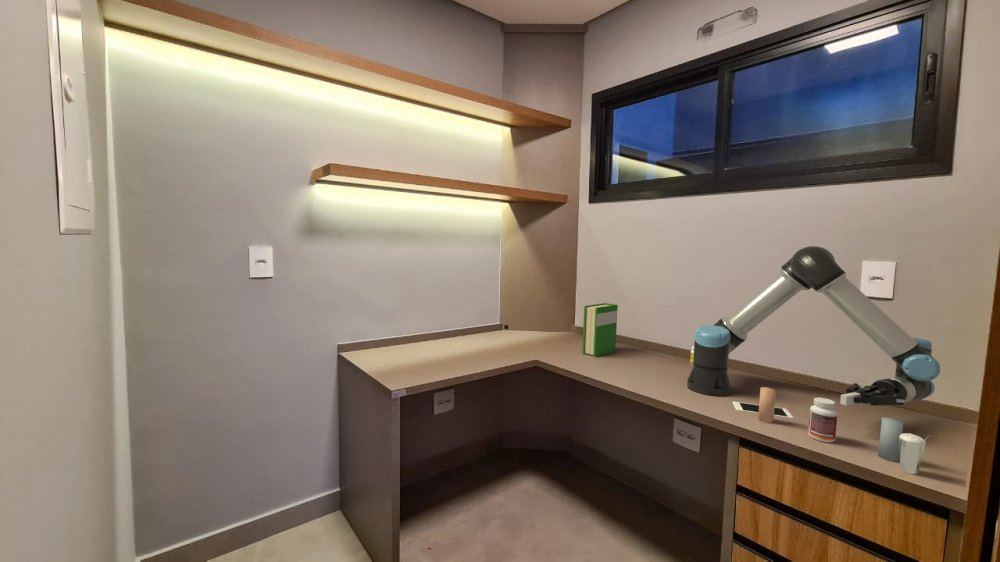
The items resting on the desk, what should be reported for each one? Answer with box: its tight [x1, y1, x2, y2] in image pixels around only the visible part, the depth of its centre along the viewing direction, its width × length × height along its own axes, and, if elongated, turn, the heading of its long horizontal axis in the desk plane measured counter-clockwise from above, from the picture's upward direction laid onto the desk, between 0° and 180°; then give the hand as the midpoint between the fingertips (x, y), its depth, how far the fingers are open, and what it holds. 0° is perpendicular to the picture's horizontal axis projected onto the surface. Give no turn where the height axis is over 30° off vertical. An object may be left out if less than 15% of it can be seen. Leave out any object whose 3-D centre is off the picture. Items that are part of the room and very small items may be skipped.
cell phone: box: [732, 401, 794, 419], centre depth 136 cm, size 8×16×1 cm, turn 70°
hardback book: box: [581, 302, 619, 358], centre depth 204 cm, size 18×7×24 cm, turn 132°
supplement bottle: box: [689, 345, 694, 367], centre depth 186 cm, size 5×5×8 cm
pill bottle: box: [807, 397, 839, 443], centre depth 116 cm, size 6×6×11 cm
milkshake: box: [899, 432, 931, 475], centre depth 99 cm, size 4×5×10 cm
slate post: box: [878, 416, 904, 463], centre depth 106 cm, size 4×4×10 cm
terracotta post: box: [757, 386, 777, 424], centre depth 127 cm, size 4×4×10 cm
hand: (843, 400), depth 118 cm, fingers closed
